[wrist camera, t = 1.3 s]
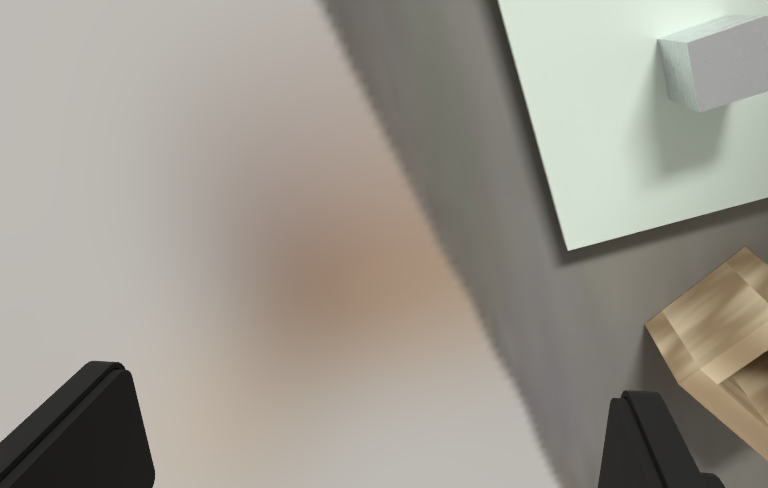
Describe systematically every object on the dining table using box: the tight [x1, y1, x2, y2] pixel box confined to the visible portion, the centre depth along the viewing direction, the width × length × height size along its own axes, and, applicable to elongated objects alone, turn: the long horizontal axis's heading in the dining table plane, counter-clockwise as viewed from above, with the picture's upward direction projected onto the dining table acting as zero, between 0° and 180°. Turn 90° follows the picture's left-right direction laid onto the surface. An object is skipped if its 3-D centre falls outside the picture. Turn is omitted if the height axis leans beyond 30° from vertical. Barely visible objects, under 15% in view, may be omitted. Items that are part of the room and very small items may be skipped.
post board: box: [497, 0, 768, 251], centre depth 26 cm, size 16×16×6 cm
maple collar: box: [645, 246, 768, 461], centre depth 30 cm, size 7×7×6 cm
